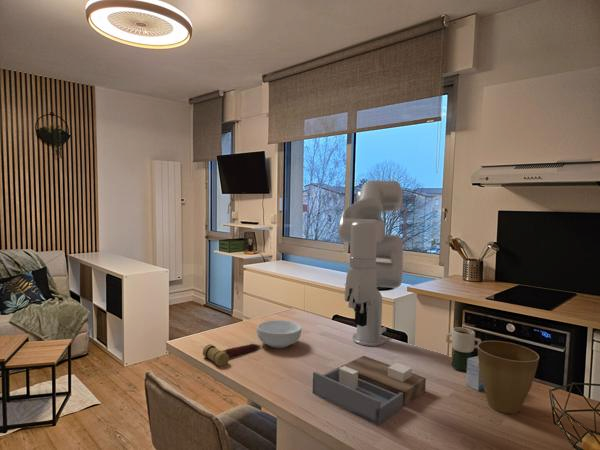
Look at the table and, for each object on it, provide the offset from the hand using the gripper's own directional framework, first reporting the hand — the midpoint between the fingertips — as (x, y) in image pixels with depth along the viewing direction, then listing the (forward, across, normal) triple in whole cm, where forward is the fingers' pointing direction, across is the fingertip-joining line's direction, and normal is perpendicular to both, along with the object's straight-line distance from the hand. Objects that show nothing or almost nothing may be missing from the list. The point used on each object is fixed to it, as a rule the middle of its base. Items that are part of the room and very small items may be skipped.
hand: (360, 324), depth 115 cm
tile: (+15, -8, +9) cm, 19 cm away
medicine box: (+19, -29, +25) cm, 42 cm away
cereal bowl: (+19, -4, -41) cm, 45 cm away
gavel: (+20, +13, -44) cm, 50 cm away
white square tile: (+15, +3, -1) cm, 16 cm away
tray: (+19, +7, +4) cm, 21 cm away
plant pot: (+19, -21, +34) cm, 44 cm away
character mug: (+19, -36, +16) cm, 44 cm away
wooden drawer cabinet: (+19, -6, +4) cm, 20 cm away
